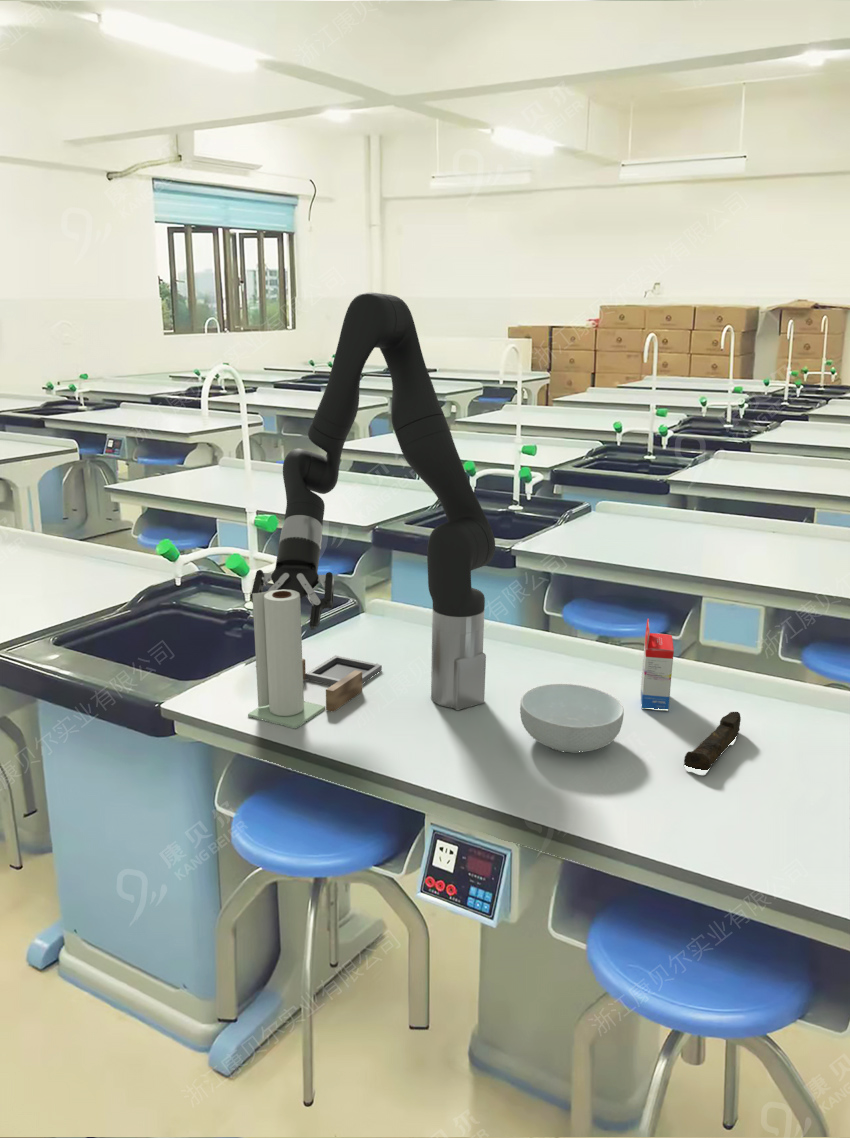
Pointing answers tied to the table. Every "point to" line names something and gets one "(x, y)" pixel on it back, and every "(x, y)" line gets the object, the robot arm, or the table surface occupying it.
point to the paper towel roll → (279, 651)
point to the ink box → (656, 670)
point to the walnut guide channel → (341, 689)
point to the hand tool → (714, 743)
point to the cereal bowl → (571, 717)
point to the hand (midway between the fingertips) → (288, 627)
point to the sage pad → (291, 720)
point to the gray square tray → (341, 670)
